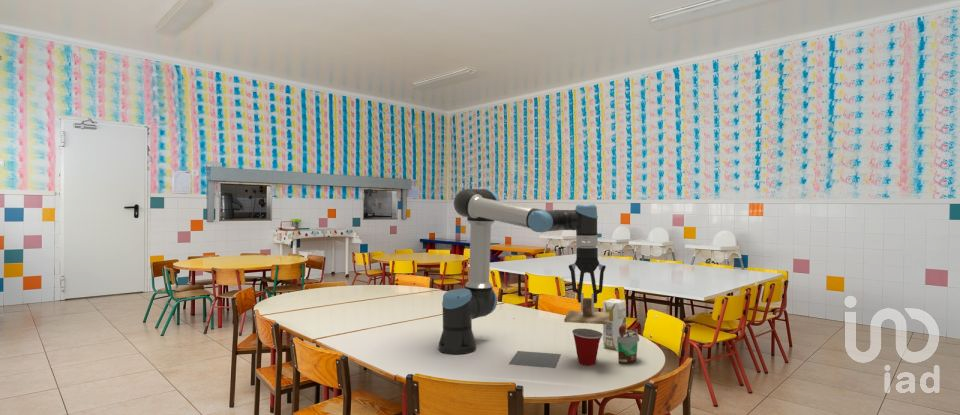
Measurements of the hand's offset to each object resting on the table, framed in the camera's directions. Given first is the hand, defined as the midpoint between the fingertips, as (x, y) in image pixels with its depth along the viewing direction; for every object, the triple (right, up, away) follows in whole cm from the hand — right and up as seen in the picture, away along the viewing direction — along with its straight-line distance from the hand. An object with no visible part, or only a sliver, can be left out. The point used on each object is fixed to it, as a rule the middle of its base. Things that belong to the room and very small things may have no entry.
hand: (587, 311), depth 182 cm
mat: (-18, -19, +5) cm, 27 cm away
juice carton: (+16, -19, +22) cm, 33 cm away
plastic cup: (0, -19, 0) cm, 19 cm away
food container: (+17, -19, +4) cm, 26 cm away
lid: (0, -2, 0) cm, 2 cm away
